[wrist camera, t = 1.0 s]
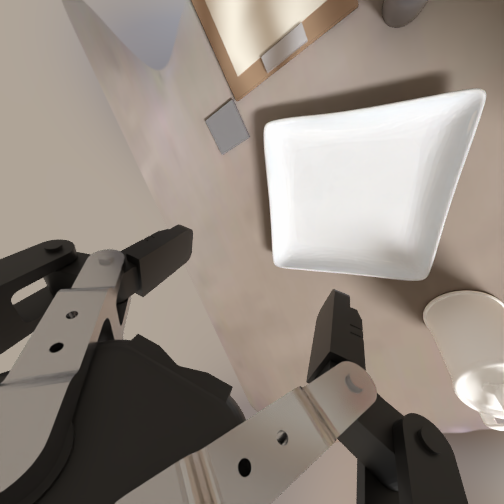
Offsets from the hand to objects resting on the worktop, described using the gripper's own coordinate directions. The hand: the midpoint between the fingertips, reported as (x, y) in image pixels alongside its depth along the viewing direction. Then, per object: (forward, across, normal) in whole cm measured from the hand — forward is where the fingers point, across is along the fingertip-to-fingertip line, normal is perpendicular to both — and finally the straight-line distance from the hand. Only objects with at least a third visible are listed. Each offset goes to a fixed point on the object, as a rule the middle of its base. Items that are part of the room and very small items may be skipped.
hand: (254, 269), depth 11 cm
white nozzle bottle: (+24, -27, +12) cm, 38 cm away
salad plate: (+24, -5, +1) cm, 24 cm away
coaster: (+23, +14, -4) cm, 27 cm away
